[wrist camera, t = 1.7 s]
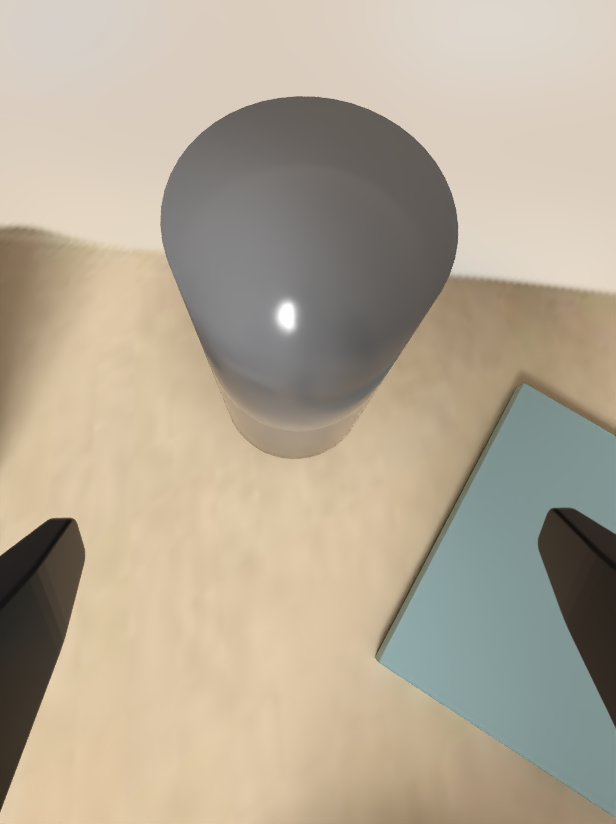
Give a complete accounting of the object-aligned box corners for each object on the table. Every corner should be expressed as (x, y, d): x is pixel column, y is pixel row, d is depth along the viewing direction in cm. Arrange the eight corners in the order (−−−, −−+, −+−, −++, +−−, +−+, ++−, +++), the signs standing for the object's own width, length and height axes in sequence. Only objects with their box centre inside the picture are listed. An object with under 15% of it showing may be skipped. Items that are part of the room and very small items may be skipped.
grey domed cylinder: (316, 485, 22) (365, 415, 9) (198, 411, 23) (97, 252, 10) (385, 372, 24) (506, 183, 11) (273, 306, 24) (267, 53, 12)
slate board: (635, 828, 19) (650, 840, 19) (374, 657, 20) (378, 662, 20) (744, 521, 23) (760, 520, 22) (516, 387, 24) (524, 382, 23)
